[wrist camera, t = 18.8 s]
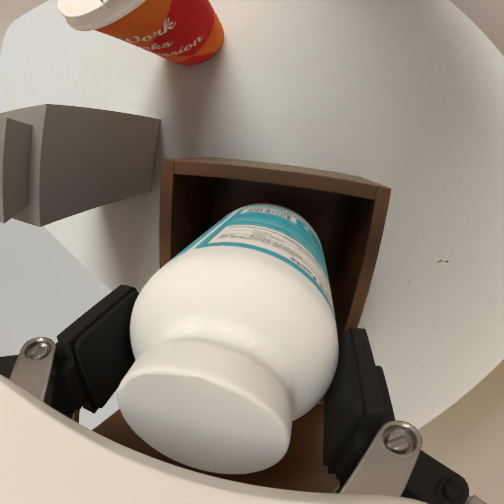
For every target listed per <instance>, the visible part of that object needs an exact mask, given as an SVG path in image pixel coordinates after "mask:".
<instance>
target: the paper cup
mask: <svg viewBox="0 0 504 504" xmlns="http://www.w3.org/2000/svg"><path fill="white" fill-rule="evenodd" d="M58 8H59V11H60V13H61V14H62V15H63V16H64V17H65V18H66V21H67V23H68V24H69V25H70V26H71V27H72V28H74V29H76V30H80V31H90V30H96V31H99V32H102V33H105V34H107V35H110V36H113V37H115V38H118V39H121V40H123V41H126V42H128V43H131V44H133V45H136V46H138V47H140V48H143V49H145V50H147V51H150V52H152V53H154V54H157V55H159V56H161V57H163V58H166V59H168V60H170V61H173V62H175V63H178V64H181V65H196V64H200V63H202V62H204V61H206V60H208V59H209V58H211V57H212V56H213V55H214V54H215V53H216V52H217V51H218V50H219V48H220V47H221V45H222V42H223V38H224V32H223V28H222V25H221V23H220V21H219V19H218V17H217V15H216V13H215V11H214V10H213V8H212V6H211V4H210V2H209V1H208V0H58Z"/></svg>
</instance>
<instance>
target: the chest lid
mask: <svg viewBox="0 0 504 504" xmlns="http://www.w3.org/2000/svg"><path fill="white" fill-rule="evenodd" d="M92 431H94V432H96V433H98V434H100V435H102V436H104V437H106V438H108V439H110V440H112V441H114V442H116V443H118V444H121V445H123V446H125V447H127V448H130V449H132V450H135V451H137V452H139V453H142V454H144V455H147V456H150V457H152V458H155V459H158V460H160V461H163V462H166V463H169V464H172V465H175V466H178V467H181V468H185V469H188V470H191V471H195V472H198V473H202V474H205V475H209V476H213V477H217V478H221V479H226V480H230V481H235V482H240V483H245V484H250V485H256V486H262V487H269V488H276V489H284V490H293V491H303V492H315V493H332V492H333V490H334V489H335V488H336V486H337V485H338V484H339V482H340V481H339V480H337V479H336V474H328V466H324V465H323V431H324V404H319V403H317V404H316V405H315V406H314V407H313V408H312V409H311V410H310V411H308V412H307V413H306V414H304V415H303V416H301V417H299V418H298V419H296V420H294V421H292V430H291V438H290V444H289V447H288V450H287V452H286V454H285V455H284V457H283V458H282V459H281V460H280V461H279V462H278V463H276V464H275V465H273V466H271V467H269V468H267V469H264V470H262V471H258V472H253V473H247V474H221V473H214V472H208V471H204V470H200V469H196V468H193V467H190V466H187V465H184V464H182V463H180V462H178V461H175V460H173V459H171V458H169V457H167V456H165V455H163V454H162V453H160V452H159V451H157V450H156V449H154V448H153V447H151V446H150V445H148V444H147V443H146V442H145V441H143V440H142V439H141V438H140V437H139V436H138V435H137V434H136V433H135V432H134V431H133V430H132V429H131V427H130V426H129V425H128V423H127V422H126V420H125V419H124V417H123V415H122V413H121V411H120V409H119V410H117V411H116V412H115V413H114V414H112V415H111V416H110V417H109V418H107V419H106V420H105V421H103V422H102V423H101V424H100V425H98V426H97V427H96V428H94V429H93V430H92Z"/></svg>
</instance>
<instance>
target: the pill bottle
mask: <svg viewBox="0 0 504 504" xmlns="http://www.w3.org/2000/svg"><path fill="white" fill-rule="evenodd" d="M130 340H131V346H132V351H133V355H134V358H135V360H136V361H135V362H134V364H133V365H132V367H131V368H130V370H129V371H128V372H127V374H126V375H125V377H124V378H123V380H122V381H121V383H120V385H119V388H118V392H117V399H118V405H119V408H120V411H121V413H122V415H123V417H124V419H125V420H126V422H127V423H128V425H129V426H130V427H131V429H132V430H133V431H134V432H135V433H136V434H137V435H138V436H139V437H140V438H141V439H142V440H143V441H145V442H146V443H147V444H148V445H150V446H151V447H153V448H154V449H156V450H157V451H159V452H160V453H162V454H163V455H165V456H167V457H169V458H171V459H173V460H175V461H178V462H180V463H182V464H184V465H187V466H190V467H193V468H196V469H200V470H204V471H208V472H214V473H221V474H247V473H253V472H258V471H262V470H264V469H267V468H269V467H271V466H273V465H275V464H276V463H278V462H279V461H280V460H281V459H282V458H283V457H284V455H285V454H286V452H287V450H288V447H289V444H290V438H291V430H292V421H294V420H296V419H298V418H299V417H301V416H303V415H304V414H306V413H307V412H308V411H310V410H311V409H312V408H313V407H314V406H315V405H316V404H317V403H318V402H319V401H320V400H321V399H322V397H323V396H324V395H325V393H326V392H327V390H328V389H329V387H330V385H331V383H332V381H333V378H334V375H335V372H336V369H337V365H338V356H339V344H338V336H337V327H336V320H335V313H334V308H333V302H332V296H331V290H330V285H329V279H328V273H327V268H326V263H325V258H324V253H323V250H322V246H321V243H320V240H319V238H318V236H317V234H316V233H315V231H314V230H313V228H312V227H311V226H310V224H309V223H308V222H307V221H306V220H305V219H304V218H302V217H301V216H300V215H299V214H297V213H295V212H294V211H292V210H290V209H288V208H285V207H283V206H280V205H275V204H268V203H259V204H251V205H247V206H244V207H241V208H239V209H237V210H235V211H233V212H231V213H230V214H228V215H227V216H225V217H224V218H223V219H221V220H220V221H219V222H218V223H216V224H215V225H214V226H213V227H211V228H210V229H209V230H208V231H206V232H205V233H204V234H203V235H201V236H200V237H199V238H198V239H196V240H195V241H194V242H193V243H191V244H190V245H189V246H188V247H186V248H185V249H184V250H182V251H181V252H180V253H179V254H178V255H176V256H175V257H174V258H173V259H171V260H170V261H169V262H168V263H167V264H165V265H164V266H163V267H162V268H161V269H160V270H158V271H157V272H156V273H155V274H154V275H153V276H152V277H151V278H150V279H149V281H148V282H147V283H146V284H145V285H144V287H143V288H142V290H141V292H140V294H139V295H138V297H137V299H136V302H135V304H134V307H133V310H132V315H131V321H130Z"/></svg>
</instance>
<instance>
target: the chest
mask: <svg viewBox="0 0 504 504" xmlns="http://www.w3.org/2000/svg"><path fill="white" fill-rule="evenodd" d="M390 193H391V189H390V188H388V187H386V186H383V185H380V184H378V183H375V182H372V181H370V180H367V179H364V178H361V177H357V176H352V175H346V174H341V173H335V172H329V171H323V170H317V169H310V168H303V167H296V166H289V165H281V164H273V163H265V162H255V161H246V160H235V159H223V158H184V159H166V160H162V167H161V187H160V227H159V249H160V269H161V268H162V267H163V266H164V265H165V264H167V263H168V262H169V261H170V260H171V259H173V258H174V257H175V256H176V255H178V254H179V253H180V252H181V251H182V250H184V249H185V248H186V247H188V246H189V245H190V244H191V243H193V242H194V241H195V240H196V239H198V238H199V237H200V236H201V235H203V234H204V233H205V232H206V231H208V230H209V229H210V228H211V227H213V226H214V225H215V224H216V223H218V222H219V221H220V220H221V219H223V218H224V217H225V216H227V215H228V214H230V213H231V212H233V211H235V210H237V209H239V208H241V207H244V206H247V205H251V204H259V203H268V204H275V205H280V206H283V207H285V208H288V209H290V210H292V211H294V212H295V213H297V214H299V215H300V216H301V217H302V218H304V219H305V220H306V221H307V222H308V223H309V224H310V226H311V227H312V228H313V230H314V231H315V233H316V234H317V236H318V238H319V240H320V243H321V246H322V250H323V253H324V258H325V263H326V268H327V273H328V279H329V285H330V290H331V296H332V302H333V308H334V313H335V320H336V327H337V336H338V344H339V342H340V339H341V336H342V333H343V331H344V330H345V331H348V329H349V328H350V327H353V328H357V327H358V324H359V321H360V317H361V314H362V311H363V308H364V304H365V301H366V298H367V294H368V291H369V287H370V283H371V280H372V276H373V272H374V268H375V264H376V260H377V256H378V252H379V248H380V243H381V239H382V234H383V230H384V225H385V220H386V215H387V210H388V204H389V199H390ZM319 403H323V404H324V396H323V397H322V399H321V400H320V401H319Z"/></svg>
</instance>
